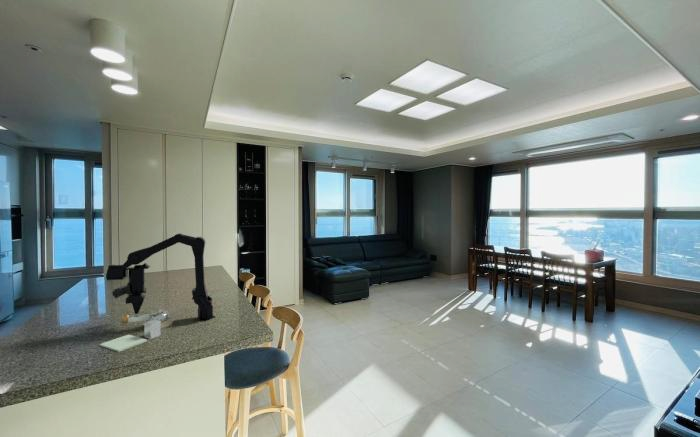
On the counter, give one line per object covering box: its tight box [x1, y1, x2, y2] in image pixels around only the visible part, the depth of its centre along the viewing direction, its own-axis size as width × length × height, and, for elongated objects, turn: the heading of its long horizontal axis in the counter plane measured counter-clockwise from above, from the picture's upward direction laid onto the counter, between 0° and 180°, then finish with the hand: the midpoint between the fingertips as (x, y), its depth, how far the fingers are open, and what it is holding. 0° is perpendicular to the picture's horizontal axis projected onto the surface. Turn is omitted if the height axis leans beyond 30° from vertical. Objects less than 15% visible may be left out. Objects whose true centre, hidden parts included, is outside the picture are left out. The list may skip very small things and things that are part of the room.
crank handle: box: [121, 308, 170, 324], centre depth 130 cm, size 17×7×5 cm, turn 119°
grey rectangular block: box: [143, 319, 162, 340], centre depth 121 cm, size 4×4×6 cm
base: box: [148, 316, 174, 329], centre depth 132 cm, size 10×10×2 cm
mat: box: [99, 333, 148, 353], centre depth 113 cm, size 12×10×1 cm
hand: (136, 313), depth 131 cm, fingers closed
